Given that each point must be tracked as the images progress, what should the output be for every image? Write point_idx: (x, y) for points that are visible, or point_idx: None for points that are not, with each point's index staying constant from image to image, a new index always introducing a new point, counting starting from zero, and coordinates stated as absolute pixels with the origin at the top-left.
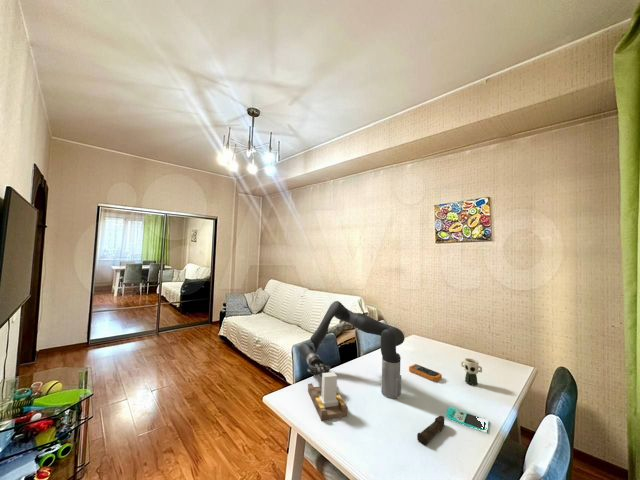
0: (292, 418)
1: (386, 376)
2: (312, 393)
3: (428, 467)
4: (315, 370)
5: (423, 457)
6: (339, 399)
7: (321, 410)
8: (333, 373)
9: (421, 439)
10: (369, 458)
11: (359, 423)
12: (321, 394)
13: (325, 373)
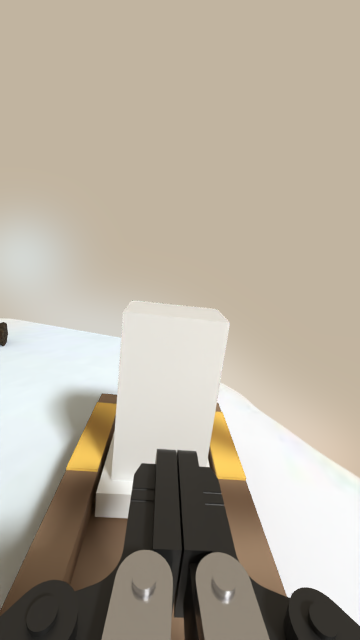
0: (339, 474)
1: None
2: (274, 573)
3: (57, 330)
4: (331, 601)
5: (42, 335)
6: (101, 434)
7: (218, 405)
8: (140, 308)
9: (7, 333)
10: None
11: (82, 400)
12: (205, 464)
13: (203, 317)
